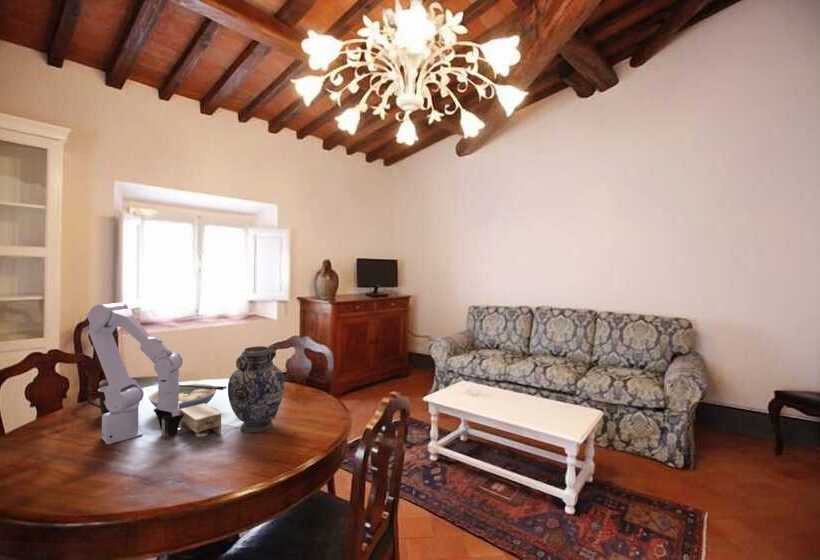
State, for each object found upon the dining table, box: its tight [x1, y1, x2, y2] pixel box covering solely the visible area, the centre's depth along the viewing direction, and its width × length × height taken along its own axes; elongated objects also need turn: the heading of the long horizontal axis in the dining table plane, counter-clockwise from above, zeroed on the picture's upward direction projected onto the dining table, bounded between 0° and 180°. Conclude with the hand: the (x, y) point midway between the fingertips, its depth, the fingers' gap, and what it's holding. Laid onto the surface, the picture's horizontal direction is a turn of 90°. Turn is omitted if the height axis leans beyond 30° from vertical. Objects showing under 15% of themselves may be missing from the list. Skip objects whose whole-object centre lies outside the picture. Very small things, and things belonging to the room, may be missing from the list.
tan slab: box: [179, 403, 222, 435], centre depth 130 cm, size 8×15×7 cm, turn 49°
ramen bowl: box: [148, 383, 227, 409], centre depth 148 cm, size 25×23×8 cm
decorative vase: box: [227, 344, 285, 434], centre depth 134 cm, size 21×19×28 cm
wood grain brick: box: [161, 418, 193, 440], centre depth 129 cm, size 12×3×6 cm, turn 139°
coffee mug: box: [86, 385, 123, 416], centre depth 144 cm, size 12×9×10 cm
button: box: [194, 429, 210, 438], centre depth 128 cm, size 4×4×1 cm
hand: (168, 432), depth 126 cm, fingers open, 7 cm apart
